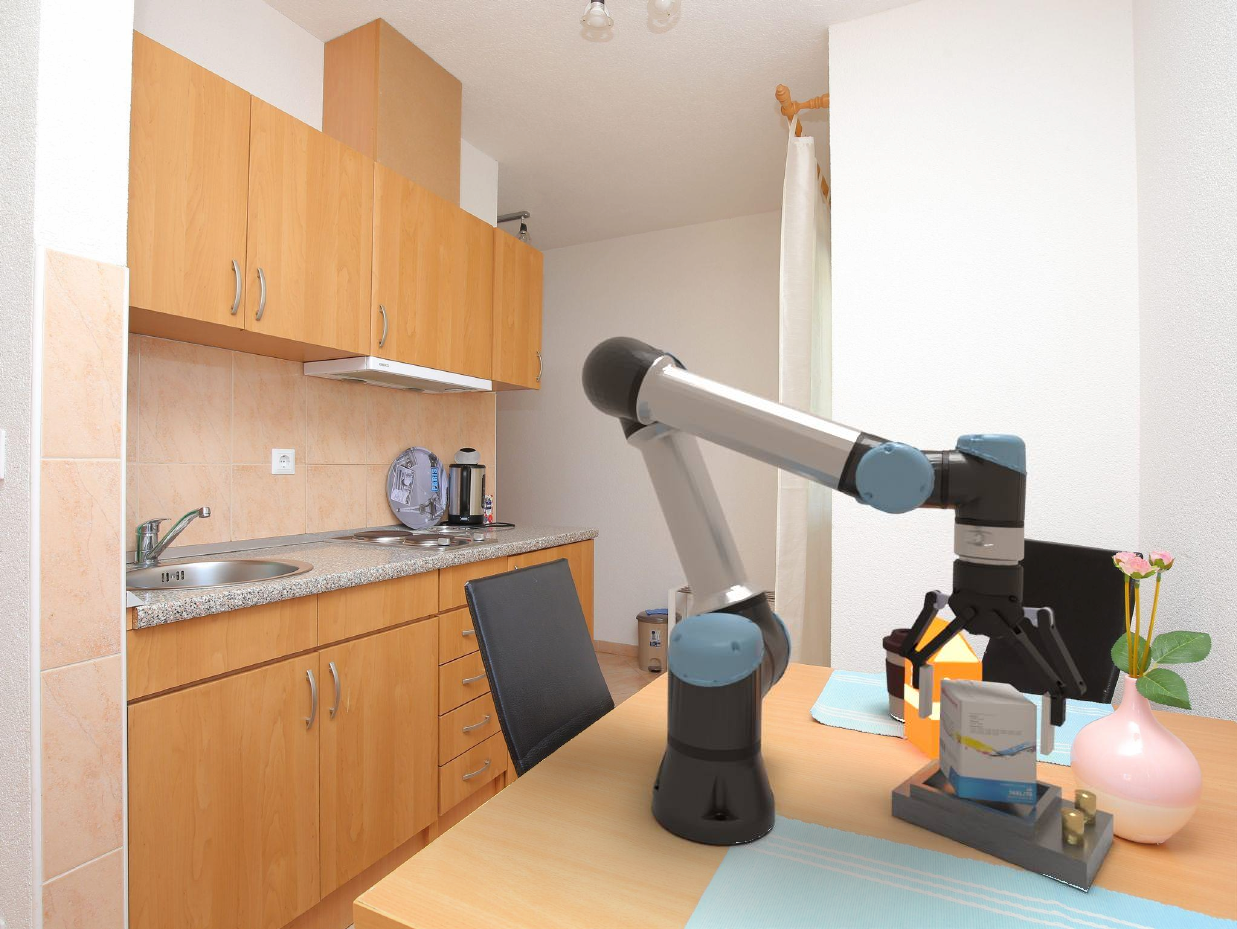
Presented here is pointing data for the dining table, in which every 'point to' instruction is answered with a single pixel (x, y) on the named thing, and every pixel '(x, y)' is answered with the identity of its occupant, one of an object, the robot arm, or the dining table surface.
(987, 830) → the grey tray with knobs
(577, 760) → the dining table surface
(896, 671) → the coffee cup
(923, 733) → the orange juice
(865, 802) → the dining table surface
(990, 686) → the ink box
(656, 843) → the dining table surface
